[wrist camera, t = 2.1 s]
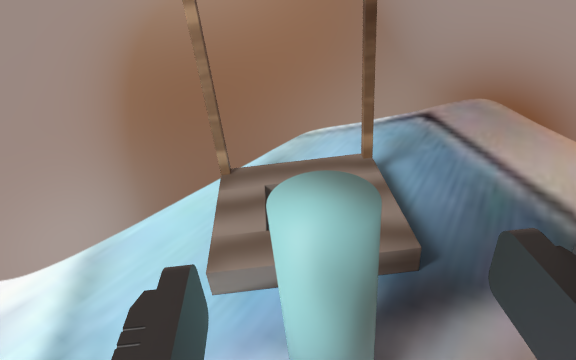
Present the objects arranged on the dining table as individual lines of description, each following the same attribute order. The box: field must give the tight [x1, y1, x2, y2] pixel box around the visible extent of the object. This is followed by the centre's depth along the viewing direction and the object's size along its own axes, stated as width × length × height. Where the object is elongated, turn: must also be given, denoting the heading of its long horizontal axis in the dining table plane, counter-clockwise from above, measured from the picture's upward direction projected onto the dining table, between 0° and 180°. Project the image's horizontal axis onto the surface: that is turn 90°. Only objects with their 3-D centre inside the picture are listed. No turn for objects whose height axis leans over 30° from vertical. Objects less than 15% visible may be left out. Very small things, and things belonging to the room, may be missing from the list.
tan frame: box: [183, 0, 421, 295], centre depth 30 cm, size 16×17×27 cm
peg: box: [266, 170, 382, 360], centre depth 20 cm, size 5×5×14 cm
